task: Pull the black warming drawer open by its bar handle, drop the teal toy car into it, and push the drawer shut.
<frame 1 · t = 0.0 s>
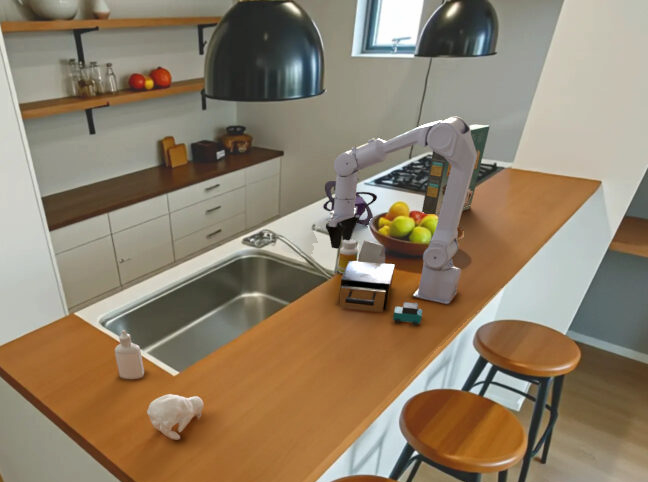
hand: (341, 243, 142), 10 cm above the counter, tool pointing down, fingers open, 7 cm apart
cake mix box: (445, 212, 190), on the counter
decorative bottle: (347, 223, 189), on the counter
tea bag: (369, 275, 147), on the counter
toy car: (406, 321, 122), on the counter
drawer: (363, 293, 128), point 4 cm above the counter, slide at 2.0 cm
supplement bottle: (346, 271, 150), on the counter
cabinet: (365, 296, 135), on the counter
white animal figurine: (181, 426, 95), on the counter
eye dropper bottle: (132, 376, 111), on the counter
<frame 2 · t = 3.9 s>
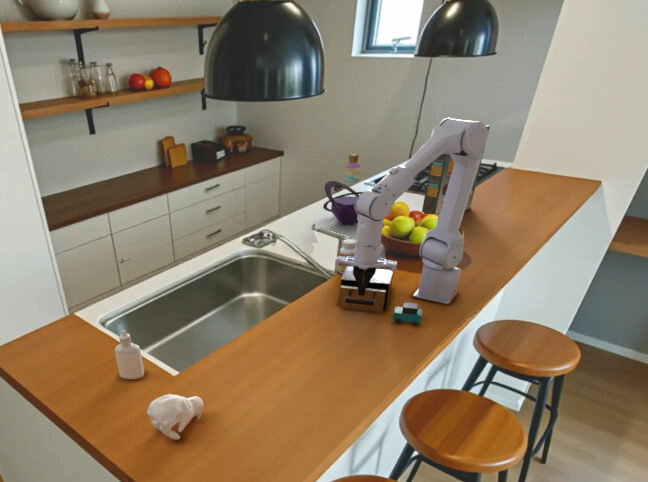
hand: (361, 293, 123), 6 cm above the counter, tool pointing down, fingers closed, pressing on drawer
drawer: (363, 293, 128), point 4 cm above the counter, slide at 1.9 cm, touching gripper
everything else where it was.
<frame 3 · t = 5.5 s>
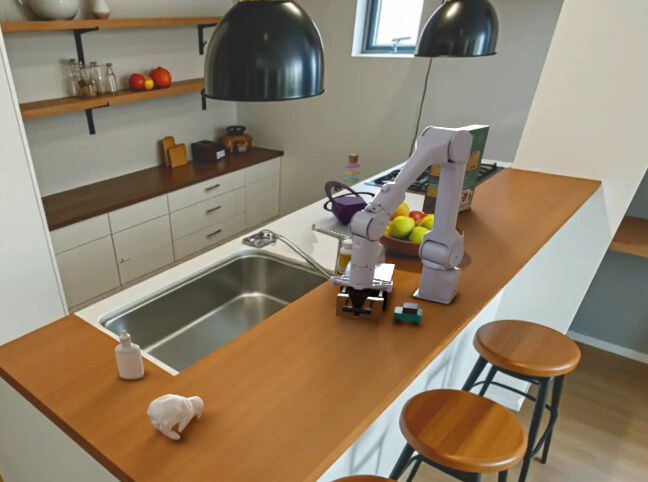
hand: (357, 313, 121), 3 cm above the counter, tool pointing down, fingers closed, pressing on drawer
drawer: (360, 301, 124), point 4 cm above the counter, slide at 6.9 cm, touching gripper
everything else where it was.
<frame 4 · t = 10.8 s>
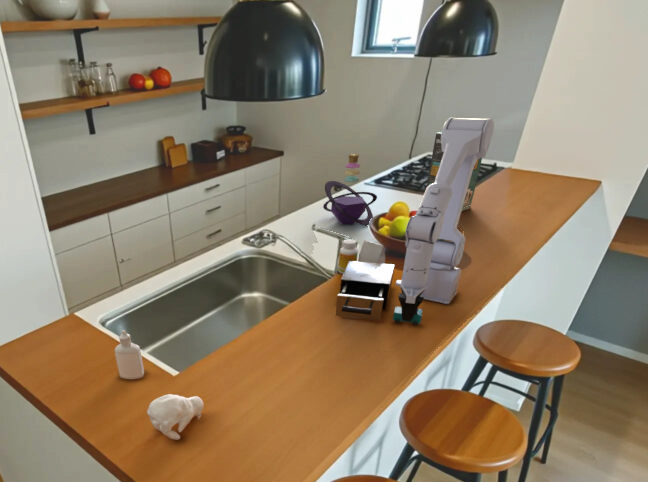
hand: (407, 316, 121), 1 cm above the counter, tool pointing down, fingers closed on toy car, 3 cm apart
toy car: (406, 321, 122), on the counter, touching gripper
drawer: (360, 301, 124), point 4 cm above the counter, slide at 6.9 cm
everything else where it was.
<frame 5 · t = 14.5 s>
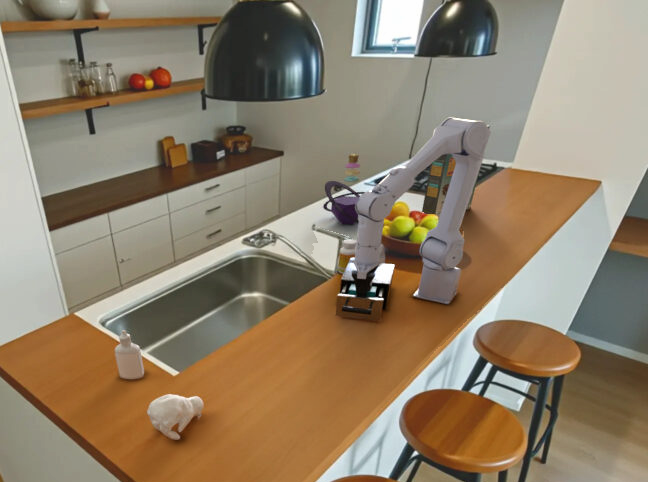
hand: (362, 293, 124), 6 cm above the counter, tool pointing down, fingers closed on toy car, 3 cm apart
toy car: (361, 298, 125), point 4 cm above the counter, touching gripper
everything else where it was.
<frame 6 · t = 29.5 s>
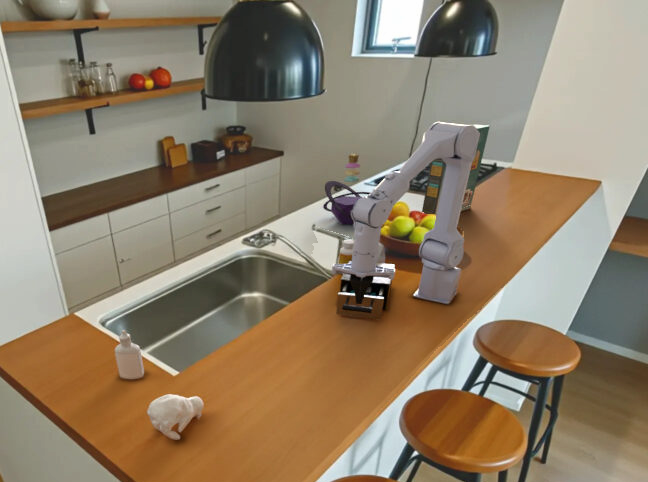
hand: (359, 302, 120), 6 cm above the counter, tool pointing down, fingers closed
toy car: (361, 304, 127), point 2 cm above the counter, touching drawer
drawer: (361, 300, 125), point 4 cm above the counter, slide at 6.1 cm, touching toy car
everything else where it was.
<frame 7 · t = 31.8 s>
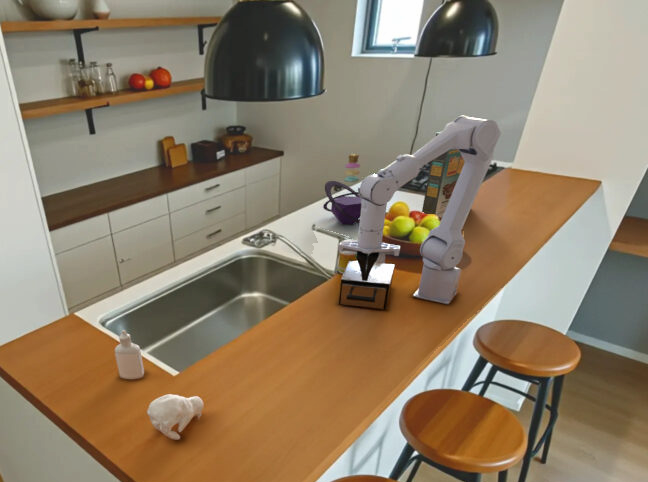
hand: (365, 279, 124), 9 cm above the counter, tool pointing down, fingers closed
toy car: (364, 294, 132), point 2 cm above the counter, touching drawer
drawer: (364, 290, 130), point 4 cm above the counter, slide at 0.0 cm, touching toy car
everything else where it was.
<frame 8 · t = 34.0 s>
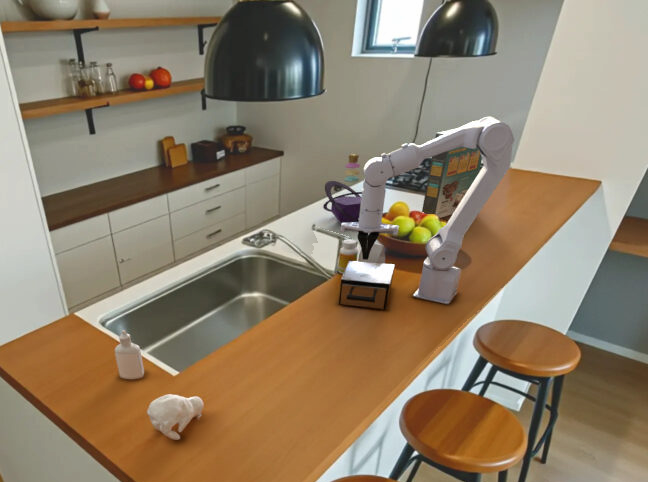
hand: (365, 258, 131), 10 cm above the counter, tool pointing down, fingers closed
nothing on the counter moved.
at the end: toy car 0.5 cm from the target spot in the cabinet, point 1.9 cm above the cabinet's base; drawer slide at 0.0 cm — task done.
